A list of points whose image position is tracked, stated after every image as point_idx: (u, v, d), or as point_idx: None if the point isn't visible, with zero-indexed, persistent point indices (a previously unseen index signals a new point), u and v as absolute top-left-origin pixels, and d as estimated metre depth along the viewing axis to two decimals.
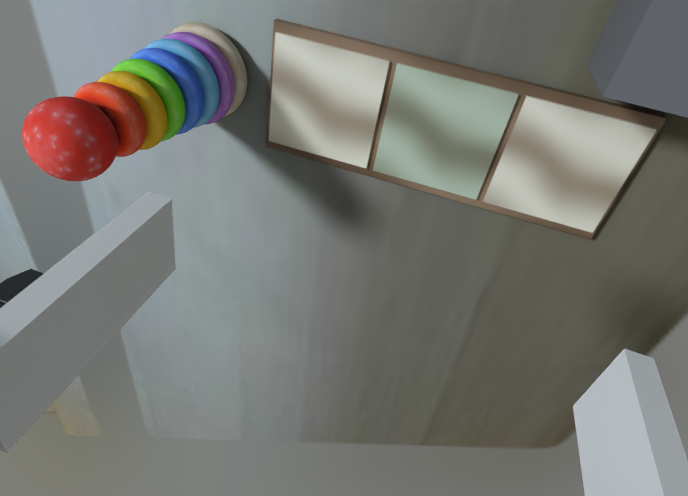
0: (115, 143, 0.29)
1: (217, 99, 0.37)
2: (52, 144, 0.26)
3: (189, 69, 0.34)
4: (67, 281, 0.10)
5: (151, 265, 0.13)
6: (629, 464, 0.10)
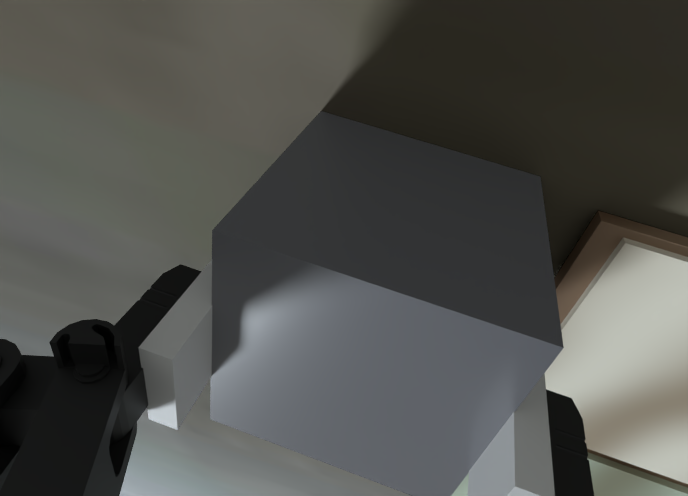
0: None
1: None
2: None
3: None
4: None
5: None
6: None
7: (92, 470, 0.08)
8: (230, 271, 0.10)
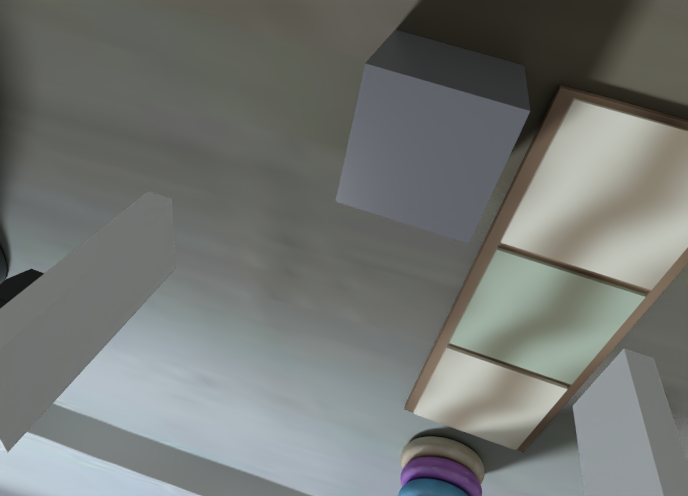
0: None
1: (451, 491, 0.40)
2: None
3: None
4: (68, 281, 0.10)
5: (151, 265, 0.13)
6: (628, 463, 0.10)
7: None
8: (369, 87, 0.20)
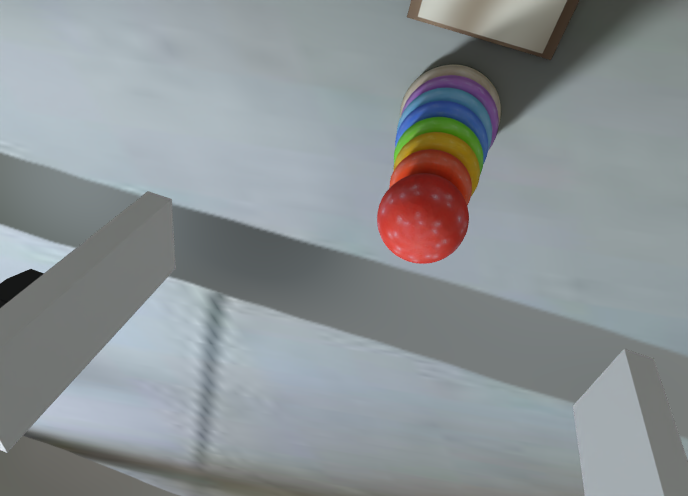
0: (437, 175, 0.25)
1: (463, 91, 0.32)
2: (405, 224, 0.24)
3: (419, 106, 0.32)
4: (67, 281, 0.10)
5: (151, 265, 0.13)
6: (628, 464, 0.10)
7: None
8: None
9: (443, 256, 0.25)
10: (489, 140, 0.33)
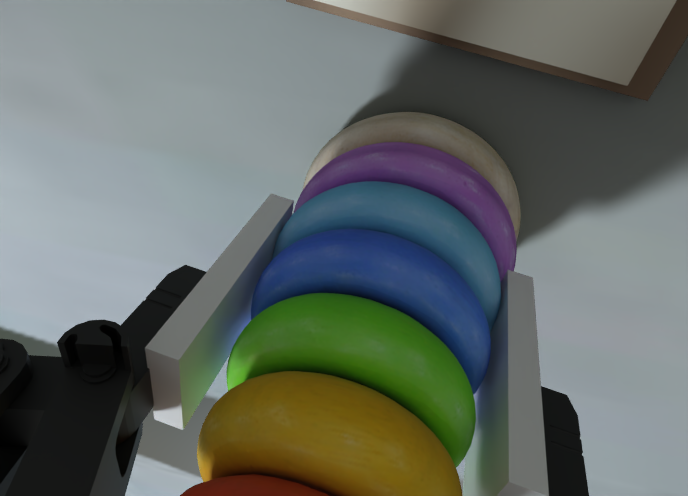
0: None
1: (420, 196, 0.12)
2: None
3: (296, 243, 0.12)
4: (231, 275, 0.11)
5: None
6: (495, 357, 0.12)
7: (98, 470, 0.08)
8: None
9: None
10: (494, 314, 0.13)
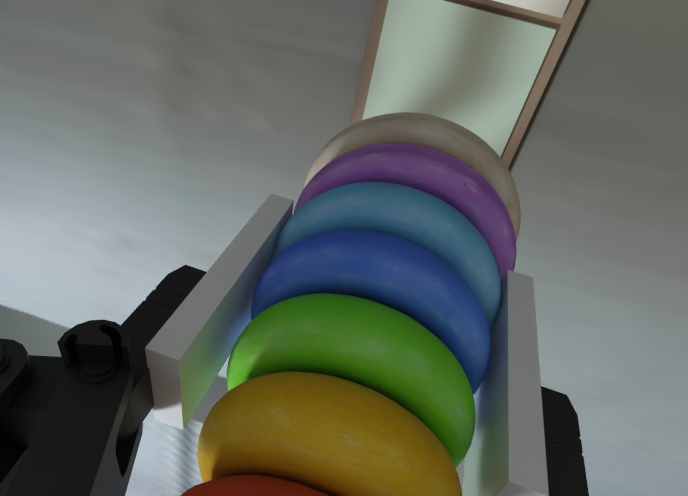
0: None
1: (420, 197, 0.12)
2: None
3: (296, 243, 0.12)
4: (231, 275, 0.11)
5: None
6: (495, 357, 0.12)
7: (99, 471, 0.08)
8: None
9: None
10: (494, 314, 0.13)
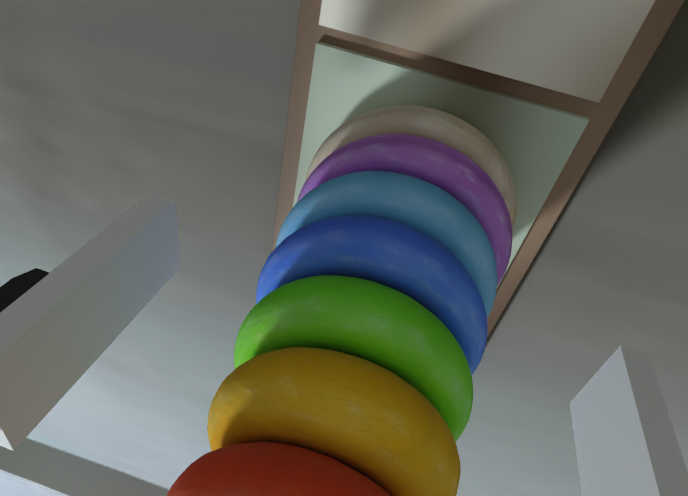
0: None
1: (419, 184, 0.12)
2: None
3: (300, 229, 0.12)
4: (73, 280, 0.10)
5: (155, 264, 0.13)
6: (624, 459, 0.10)
7: None
8: None
9: None
10: (491, 299, 0.13)
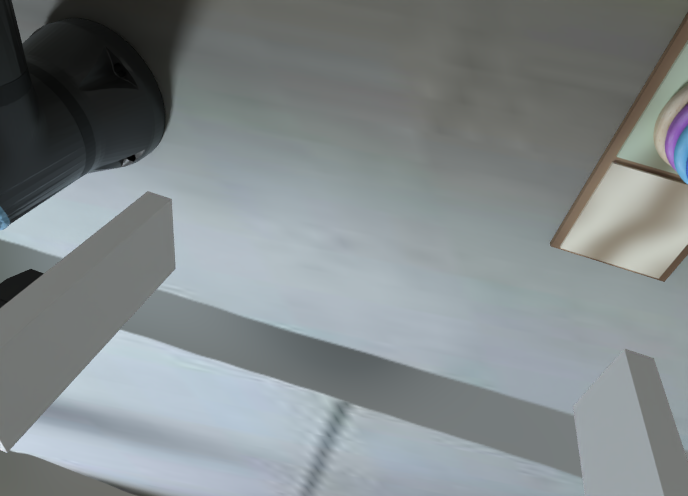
0: None
1: None
2: None
3: None
4: (67, 281, 0.10)
5: (151, 265, 0.13)
6: (628, 464, 0.10)
7: None
8: None
9: None
10: None
